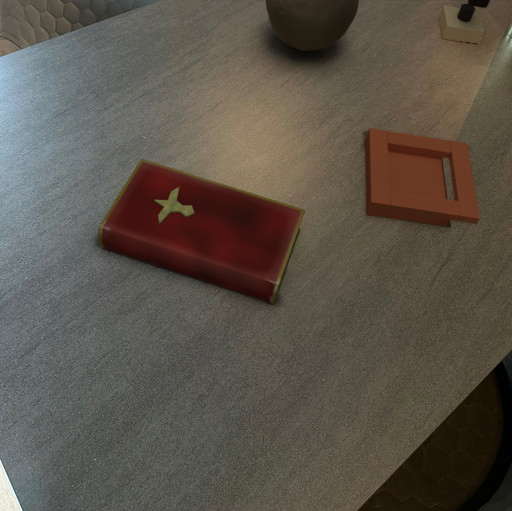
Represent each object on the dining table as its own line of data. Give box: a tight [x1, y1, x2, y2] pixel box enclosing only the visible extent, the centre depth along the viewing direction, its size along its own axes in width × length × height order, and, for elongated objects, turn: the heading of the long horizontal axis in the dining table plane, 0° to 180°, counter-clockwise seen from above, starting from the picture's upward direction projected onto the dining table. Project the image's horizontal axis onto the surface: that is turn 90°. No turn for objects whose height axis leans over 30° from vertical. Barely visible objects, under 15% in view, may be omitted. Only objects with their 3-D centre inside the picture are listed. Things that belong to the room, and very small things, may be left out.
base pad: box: [364, 127, 481, 228], centre depth 84 cm, size 14×14×2 cm
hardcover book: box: [97, 158, 306, 305], centre depth 73 cm, size 12×21×4 cm, turn 73°
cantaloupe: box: [265, 0, 360, 52], centre depth 95 cm, size 14×14×15 cm
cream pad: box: [438, 3, 485, 44], centre depth 107 cm, size 6×6×4 cm
